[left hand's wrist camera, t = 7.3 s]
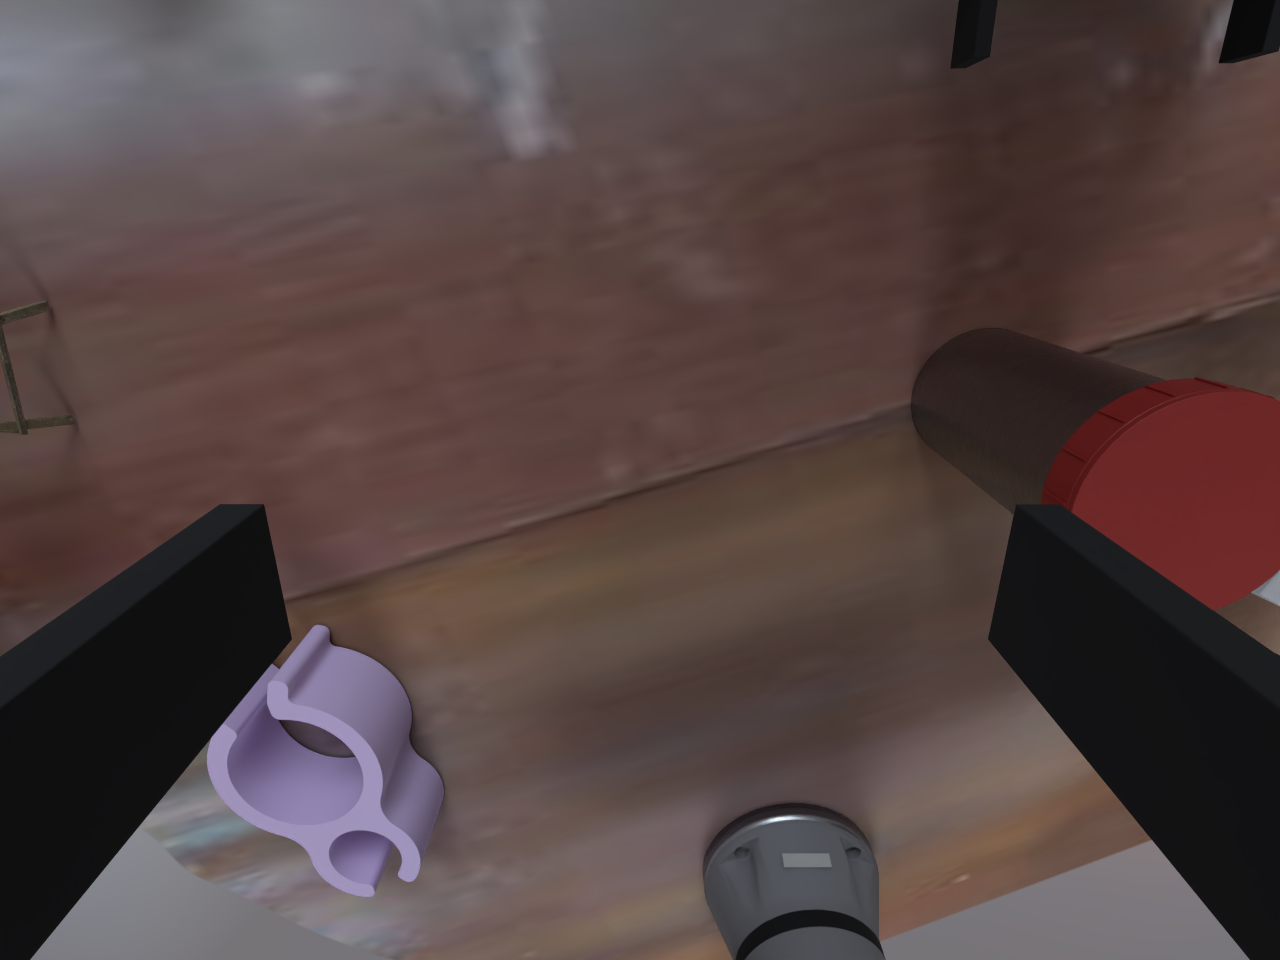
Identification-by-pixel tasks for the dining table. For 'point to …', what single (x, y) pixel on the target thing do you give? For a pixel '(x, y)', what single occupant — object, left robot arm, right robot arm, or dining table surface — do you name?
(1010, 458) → the jar
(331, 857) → the clip
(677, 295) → the dining table surface
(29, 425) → the dark tall lattice tower
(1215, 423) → the lid
